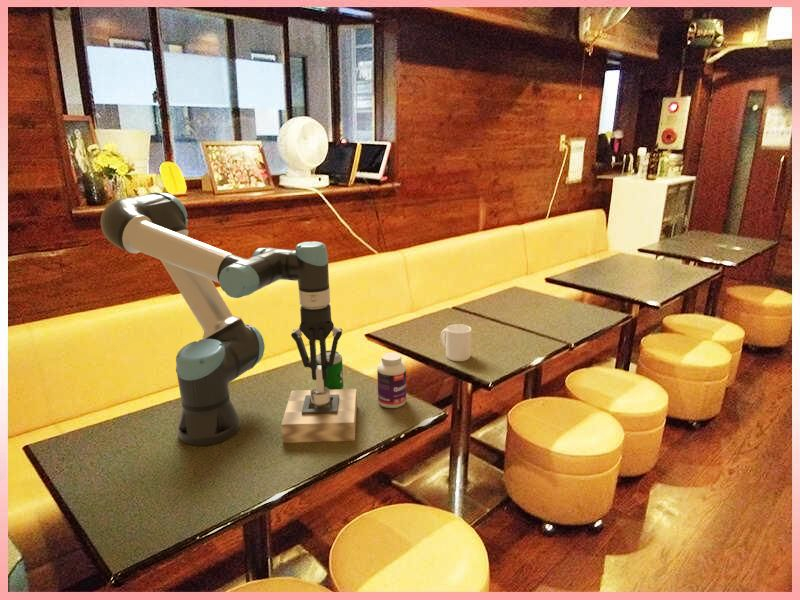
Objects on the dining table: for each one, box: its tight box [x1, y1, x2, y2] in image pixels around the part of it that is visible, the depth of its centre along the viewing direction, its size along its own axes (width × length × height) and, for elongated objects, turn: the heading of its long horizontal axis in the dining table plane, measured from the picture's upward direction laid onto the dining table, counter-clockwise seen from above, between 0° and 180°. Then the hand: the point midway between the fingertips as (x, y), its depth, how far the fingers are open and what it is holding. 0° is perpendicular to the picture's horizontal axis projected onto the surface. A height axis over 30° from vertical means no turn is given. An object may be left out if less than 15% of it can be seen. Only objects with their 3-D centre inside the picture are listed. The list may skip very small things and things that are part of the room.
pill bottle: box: [376, 352, 407, 409], centre depth 157 cm, size 8×8×14 cm
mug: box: [440, 323, 472, 362], centre depth 189 cm, size 12×8×10 cm
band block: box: [280, 388, 358, 444], centre depth 148 cm, size 18×18×6 cm
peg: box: [311, 386, 331, 409], centre depth 147 cm, size 5×5×6 cm
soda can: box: [316, 349, 344, 390], centre depth 165 cm, size 8×8×12 cm
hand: (320, 390), depth 146 cm, fingers closed
